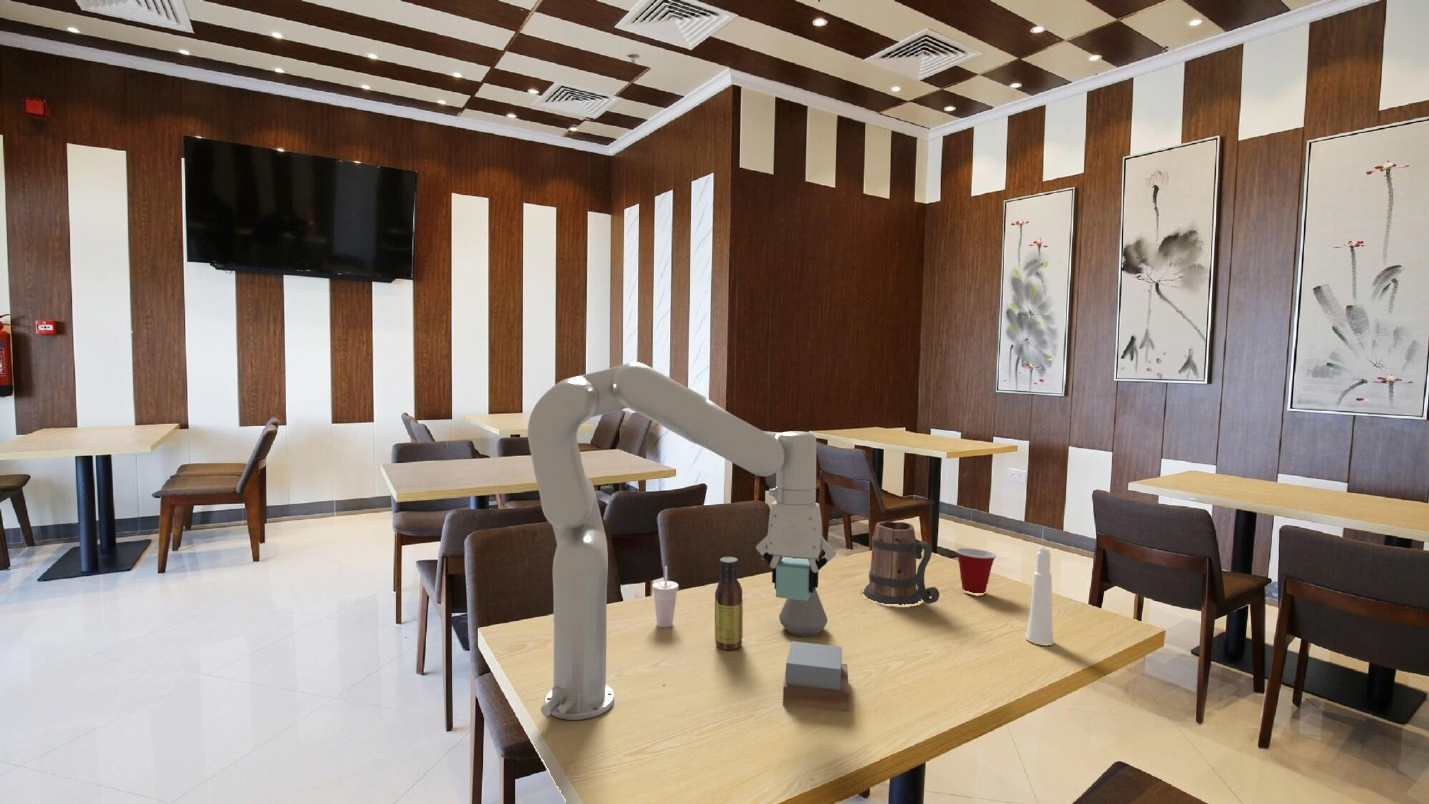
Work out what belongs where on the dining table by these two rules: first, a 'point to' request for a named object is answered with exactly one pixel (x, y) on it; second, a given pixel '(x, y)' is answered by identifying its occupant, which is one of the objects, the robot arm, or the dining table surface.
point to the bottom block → (819, 695)
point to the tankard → (898, 566)
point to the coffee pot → (803, 615)
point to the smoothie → (665, 601)
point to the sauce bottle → (728, 606)
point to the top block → (814, 665)
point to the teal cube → (793, 579)
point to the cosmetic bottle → (1041, 601)
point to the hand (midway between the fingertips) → (794, 588)
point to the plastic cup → (975, 568)
